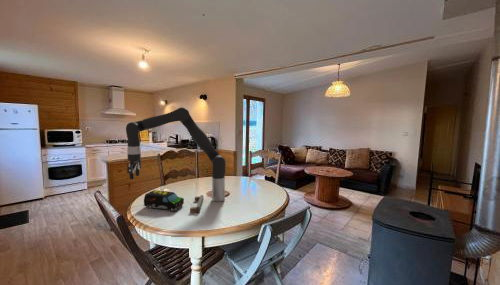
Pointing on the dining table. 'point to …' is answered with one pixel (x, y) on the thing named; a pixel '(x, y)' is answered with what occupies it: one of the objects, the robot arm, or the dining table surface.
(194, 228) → the dining table surface
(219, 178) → the robot arm
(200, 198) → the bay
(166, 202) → the toy van
